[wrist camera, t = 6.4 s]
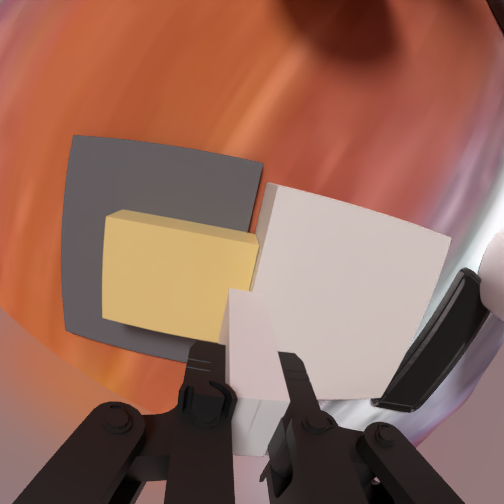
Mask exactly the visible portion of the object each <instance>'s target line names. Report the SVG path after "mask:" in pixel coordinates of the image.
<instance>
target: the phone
mask: <svg viewBox="0 0 504 504" xmlns="http://www.w3.org/2000/svg"><path fill="white" fill-rule="evenodd" d="M481 280H482V279H481V278H480V277H479V276H478V275H477V274H476V273H475V272H474V271H472V270H470V269H468V268H463V269H461V270H460V271H459V272H458V274H457V275H456V277H455V279H454V281H453V282H452V284H451V286H450V288H449V289H448V291H447V293H446V294H445V296H444V298H443V299H442V301H441V303H440V304H439V306H438V307H437V309H436V311H435V312H434V314H433V315H432V317H431V318H430V320H429V321H428V323H427V324H426V326H425V327H424V329H423V330H422V332H421V333H420V334H419V336H418V337H417V339H416V340H415V341H414V343H413V344H412V346H411V347H410V348H409V350H408V351H407V352H406V354H405V356H404V358H403V360H402V362H401V363H400V365H399V367H398V369H397V371H396V373H395V374H394V376H393V378H392V380H391V381H390V383H389V385H388V387H387V388H386V390H385V392H384V393H383V395H382V396H381V398H371V400H372V401H373V403H374V405H375V406H377V407H381V408H386V409H391V410H396V411H402V412H408V413H411V412H414V411H416V410H417V409H419V408H420V407H421V406H422V405H423V404H424V403H425V401H426V400H427V399H428V398H429V397H430V396H431V395H432V394H433V392H434V391H435V390H436V389H437V388H438V386H439V385H440V384H441V383H442V382H443V380H444V379H445V378H446V377H447V375H448V374H449V373H450V372H451V370H452V369H453V368H454V366H455V365H456V364H457V362H458V361H459V360H460V358H461V357H462V355H463V354H464V353H465V351H466V350H467V348H468V347H469V345H470V344H471V342H472V341H473V339H474V338H475V336H476V335H477V333H478V332H479V330H480V329H481V327H482V325H483V324H484V322H485V320H486V319H487V317H488V315H489V314H490V312H491V311H489V310H488V309H487V308H486V307H485V306H484V305H483V303H482V301H481V297H480V283H481Z"/></svg>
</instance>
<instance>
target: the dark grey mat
mask: <svg viewBox="0 0 504 504" xmlns="http://www.w3.org/2000/svg"><path fill="white" fill-rule="evenodd" d="M262 167H263V163H260V162H256V161H251V160H247V159H242V158H237V157H233V156H228V155H223V154H217V153H212V152H207V151H201V150H196V149H190V148H184V147H177V146H171V145H164V144H157V143H150V142H142V141H134V140H125V139H115V138H105V137H93V136H79V135H73V139H72V144H71V150H70V156H69V162H68V169H67V176H66V184H65V193H64V203H63V216H62V237H61V277H62V297H63V311H64V321H65V330H66V331H68V332H71V333H74V334H77V335H80V336H83V337H86V338H89V339H93V340H96V341H99V342H103V343H106V344H110V345H113V346H117V347H121V348H124V349H128V350H132V351H136V352H140V353H144V354H148V355H153V356H157V357H161V358H166V359H171V360H176V361H181V362H186V363H187V360H188V355H189V350H190V347H191V346H192V345H193V344H194V343H195V342H196V341H197V340H199V339H193V338H188V337H183V336H178V335H173V334H168V333H163V332H158V331H154V330H149V329H145V328H141V327H136V326H132V325H128V324H124V323H120V322H116V321H112V320H109V319H105V318H102V269H103V247H104V233H105V221H106V216H108V215H110V214H113V213H115V212H118V211H120V210H123V209H124V210H129V211H135V212H141V213H146V214H152V215H157V216H163V217H168V218H174V219H179V220H185V221H190V222H195V223H201V224H206V225H211V226H216V227H222V228H227V229H232V230H237V231H242V232H248V228H249V224H250V219H251V215H252V210H253V206H254V201H255V197H256V193H257V188H258V184H259V180H260V175H261V171H262ZM199 341H204V340H199ZM204 342H210V341H204ZM210 343H216V342H210ZM216 344H218V343H216Z"/></svg>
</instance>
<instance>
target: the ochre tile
mask: <svg viewBox="0 0 504 504" xmlns="http://www.w3.org/2000/svg"><path fill="white" fill-rule="evenodd" d="M258 249H259V243H258V240H257V238H256V235H255V234H252V233H247V232H242V231H237V230H232V229H227V228H222V227H216V226H211V225H206V224H201V223H195V222H190V221H185V220H179V219H174V218H168V217H163V216H157V215H152V214H146V213H141V212H135V211H129V210H124V209H123V210H120V211H118V212H115V213H113V214H110V215H108V216H106V221H105V233H104V247H103V269H102V318H105V319H109V320H112V321H116V322H120V323H124V324H128V325H132V326H136V327H141V328H145V329H149V330H154V331H158V332H163V333H168V334H173V335H178V336H183V337H188V338H193V339H199V340H204V341H210V342H216V343H218V342H219V335H220V330H221V325H222V320H223V315H224V311H225V306H226V301H227V296H228V292H229V288H233V289H239V290H244V291H249V287H250V283H251V279H252V275H253V270H254V266H255V262H256V257H257V253H258Z"/></svg>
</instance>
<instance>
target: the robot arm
mask: <svg viewBox="0 0 504 504" xmlns="http://www.w3.org/2000/svg"><path fill="white" fill-rule="evenodd" d="M488 2H489V5H490V7H491V9H492V11H493V13H494V15H495V16H496V18H497V20H498V22H499V24H500V26H501V27H502V29H503V31H504V0H488ZM267 449H268V451H269V458H270V460H269V462H268V464H267V465H266V467H265V469H264V470H263V473H262V474H261V476H260V481H259V482H263V481H264V479H265V478H267V485H268V493H269V499H270V504H465V503H464V502H463V501H462V500H461V498H459V496H458V495H457V494H456V493H455V492H454V491H453V490H452V488H451V487H450V486H449V485H448V484H447V483H446V482H445V481H444V480H443V479H442V477H441V476H440V475H439V474H438V473H437V472H436V471H435V470H434V469H433V467H432V466H431V465H430V464H429V463H428V462H427V461H426V460H425V458H424V457H423V456H422V455H421V454H420V453H419V452H418V451H417V450H416V448H415V447H414V446H413V445H412V444H411V443H410V442H409V441H408V439H407V438H406V437H405V436H404V435H403V434H402V433H401V432H400V431H399V430H398V429H397V428H396V427H395V426H393V425H391V424H388V423H384V422H375V423H372V424H370V425H369V426H367V428H366V429H365V430H364V432H362V431H357V430H351V429H346V428H342V427H339V426H338V424H337V423H336V421H335V420H334V418H333V417H332V416H330V415H329V414H328V413H327V412H324V411H322V410H321V409H320V406H319V404H318V401H317V398H316V395H315V393H314V390H313V387H312V384H311V382H310V379H309V376H308V374H307V371H306V368H305V365H304V363H303V361H302V360H301V359H300V358H299V357H298V356H297V355H296V354H295V353H289V352H280V351H277V347H276V344H275V340H274V336H273V332H272V328H271V324H270V320H269V316H268V313H267V309H266V305H265V301H264V297H263V294H261V293H256V292H250V291H244V290H239V289H233V288H229V292H228V296H227V301H226V306H225V311H224V315H223V320H222V325H221V330H220V335H219V342H218V344H216V343H210V342H204V341H199V340H197V341H196V342H195V343H194V344H193V345H192V346H191V347H190V350H189V355H188V360H187V365H186V370H185V376H184V381H183V384H182V386H181V388H180V390H179V396H178V404H177V406H176V407H175V408H173V409H172V410H170V411H169V412H166V413H163V414H156V415H141V414H140V412H139V411H138V410H137V409H135V408H134V407H132V406H131V405H129V404H125V403H122V402H107V403H103V404H100V405H99V406H97V407H96V408H95V409H93V411H92V412H91V413H90V414H89V415H88V416H87V418H85V420H84V421H83V422H82V423H81V424H80V425H79V426H78V428H77V429H76V430H75V431H74V432H73V433H72V434H71V436H70V437H69V438H68V439H67V440H66V442H65V443H64V444H63V445H62V446H61V447H60V448H59V449H58V451H57V452H56V453H55V454H54V456H52V458H51V459H50V460H49V461H48V462H47V463H46V465H45V466H44V467H43V468H42V469H41V470H40V472H39V473H38V474H37V475H36V476H35V477H34V479H33V480H32V481H31V482H30V483H29V485H28V486H27V487H26V488H25V489H24V490H23V492H22V493H21V494H20V495H19V496H18V498H17V499H16V500H15V501H14V502H13V503H12V504H135V502H136V500H137V498H138V497H139V495H140V492H141V491H142V489H143V487H144V485H145V484H146V482H147V481H161V480H167V483H166V491H165V499H164V504H235V495H234V475H233V455H239V456H240V455H241V456H257V457H263V456H264V455H265V453H266V451H267ZM375 477H377V478H378V479H379V481H380V482H377V481H375V480H374V478H375Z"/></svg>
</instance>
